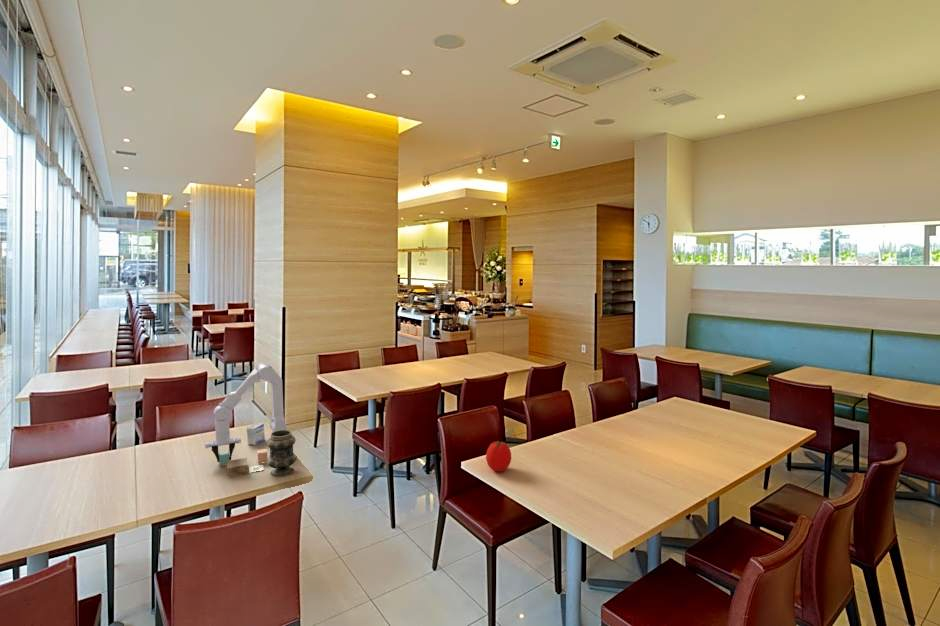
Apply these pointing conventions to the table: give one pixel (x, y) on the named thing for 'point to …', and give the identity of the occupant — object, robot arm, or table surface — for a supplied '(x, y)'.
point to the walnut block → (237, 467)
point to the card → (255, 468)
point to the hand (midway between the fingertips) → (224, 460)
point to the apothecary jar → (281, 453)
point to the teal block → (223, 457)
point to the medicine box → (255, 434)
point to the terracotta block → (262, 455)
